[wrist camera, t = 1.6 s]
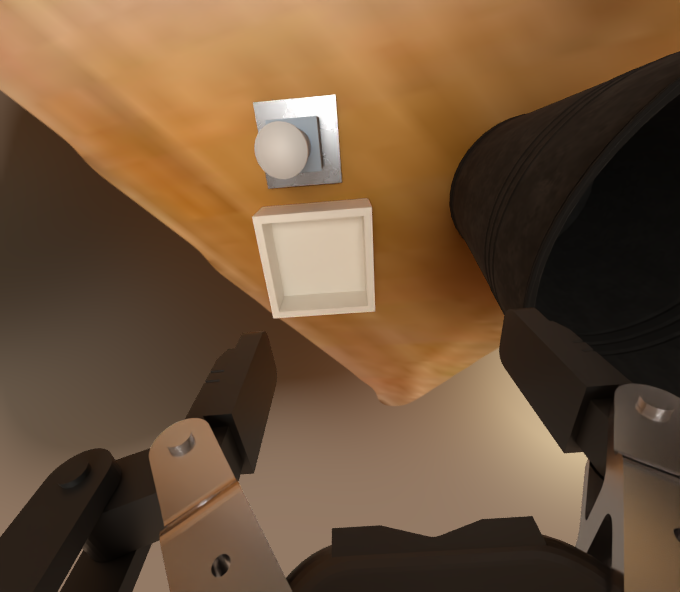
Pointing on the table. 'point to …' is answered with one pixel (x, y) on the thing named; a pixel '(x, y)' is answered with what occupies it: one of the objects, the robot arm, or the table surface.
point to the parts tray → (317, 257)
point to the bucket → (587, 217)
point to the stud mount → (328, 128)
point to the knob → (290, 147)
